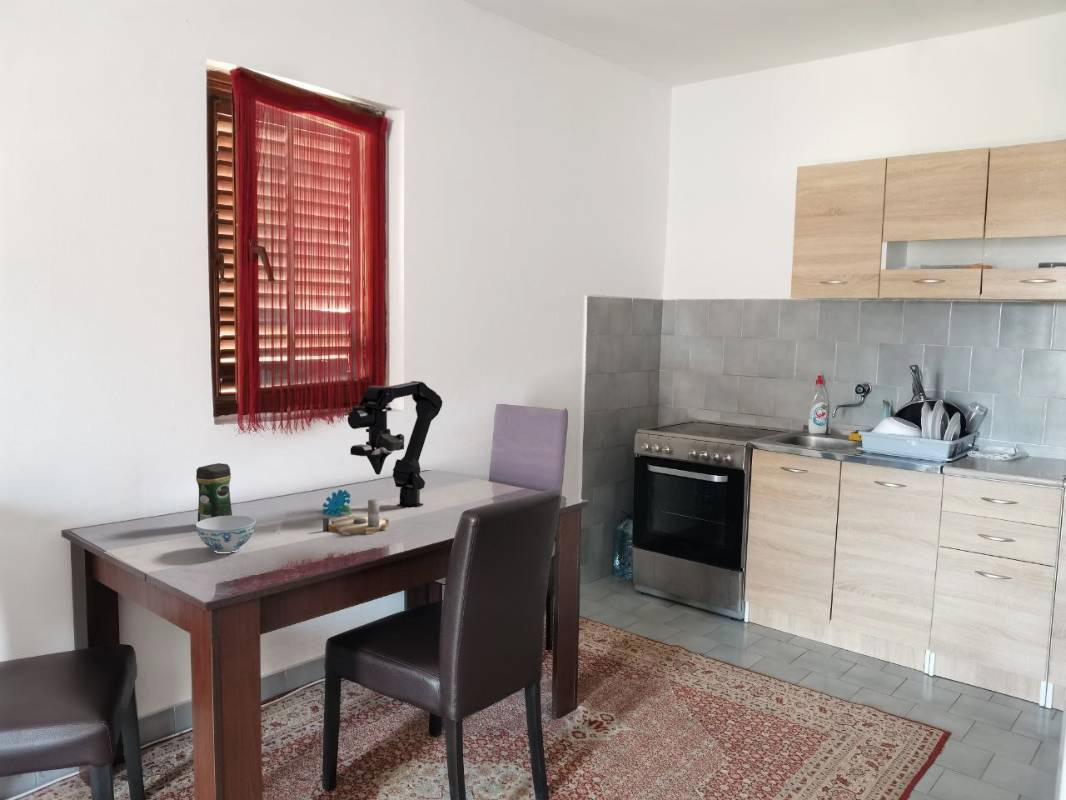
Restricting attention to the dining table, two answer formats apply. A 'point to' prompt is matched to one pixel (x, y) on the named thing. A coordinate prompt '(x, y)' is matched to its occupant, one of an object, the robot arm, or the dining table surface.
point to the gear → (337, 503)
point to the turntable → (361, 522)
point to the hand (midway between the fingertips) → (378, 474)
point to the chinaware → (226, 532)
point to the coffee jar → (214, 491)
